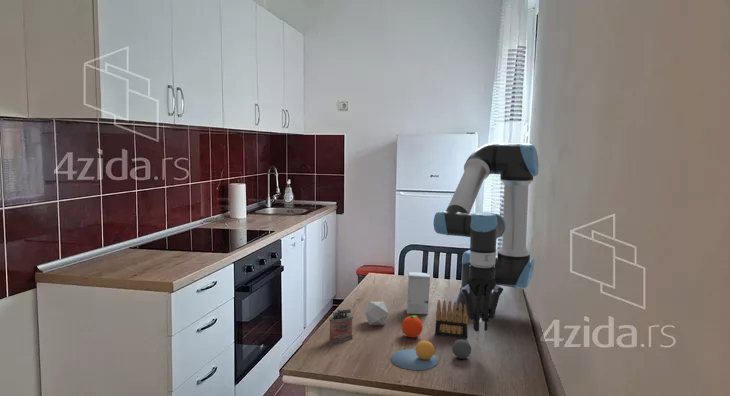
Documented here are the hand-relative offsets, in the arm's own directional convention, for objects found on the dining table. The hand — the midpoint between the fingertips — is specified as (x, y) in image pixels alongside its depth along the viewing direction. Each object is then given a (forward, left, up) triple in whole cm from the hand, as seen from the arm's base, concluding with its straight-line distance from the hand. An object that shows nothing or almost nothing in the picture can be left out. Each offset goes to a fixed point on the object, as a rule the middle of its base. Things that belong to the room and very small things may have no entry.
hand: (479, 340), depth 150 cm
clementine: (+16, -18, -5) cm, 25 cm away
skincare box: (+8, -42, -5) cm, 43 cm away
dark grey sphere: (+6, +1, -2) cm, 6 cm away
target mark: (+20, 0, -5) cm, 21 cm away
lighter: (+40, -18, -5) cm, 44 cm away
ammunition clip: (+3, -17, -5) cm, 18 cm away
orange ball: (+17, 0, -2) cm, 17 cm away
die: (+26, -31, -5) cm, 41 cm away
